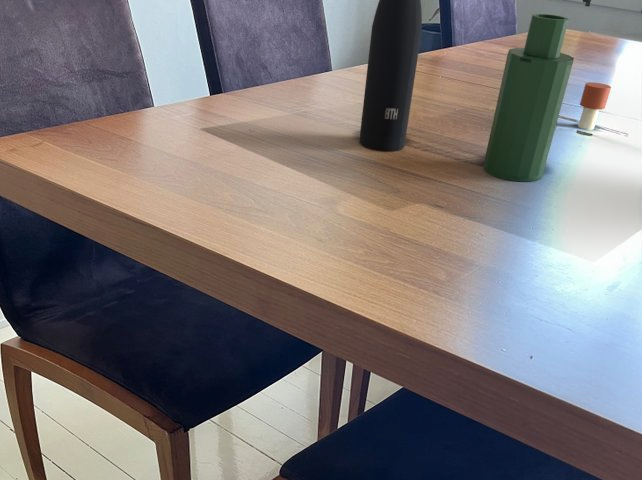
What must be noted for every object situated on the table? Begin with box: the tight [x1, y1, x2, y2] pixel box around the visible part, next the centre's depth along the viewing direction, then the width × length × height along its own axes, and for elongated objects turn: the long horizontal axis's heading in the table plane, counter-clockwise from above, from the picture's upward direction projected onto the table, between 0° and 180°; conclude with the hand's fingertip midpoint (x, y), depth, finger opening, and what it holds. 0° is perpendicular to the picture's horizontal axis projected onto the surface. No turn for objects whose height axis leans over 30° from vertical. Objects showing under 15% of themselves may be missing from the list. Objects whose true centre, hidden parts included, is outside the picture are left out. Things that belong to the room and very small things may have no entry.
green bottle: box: [482, 13, 575, 183], centre depth 92 cm, size 8×8×18 cm
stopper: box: [576, 81, 612, 136], centre depth 114 cm, size 4×4×7 cm
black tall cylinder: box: [358, 0, 423, 152], centre depth 93 cm, size 6×6×30 cm
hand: (615, 6), depth 114 cm, fingers open, 8 cm apart
